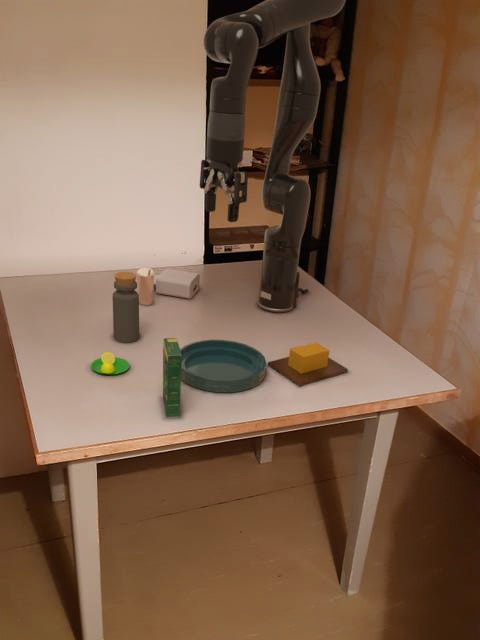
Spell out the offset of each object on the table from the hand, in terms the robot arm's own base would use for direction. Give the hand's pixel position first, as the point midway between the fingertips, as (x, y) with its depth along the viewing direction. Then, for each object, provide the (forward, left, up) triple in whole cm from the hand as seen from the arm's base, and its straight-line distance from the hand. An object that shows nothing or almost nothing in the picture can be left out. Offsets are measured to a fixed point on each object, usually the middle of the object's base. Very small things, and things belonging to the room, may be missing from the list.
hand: (221, 216), depth 144 cm
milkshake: (+5, -24, -28) cm, 37 cm away
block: (-9, +24, -27) cm, 37 cm away
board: (-9, +24, -28) cm, 38 cm away
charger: (-5, -30, -28) cm, 41 cm away
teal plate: (+9, +16, -28) cm, 34 cm away
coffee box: (+26, +24, -28) cm, 45 cm away
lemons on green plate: (+29, +4, -28) cm, 41 cm away
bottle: (+19, -8, -28) cm, 35 cm away
